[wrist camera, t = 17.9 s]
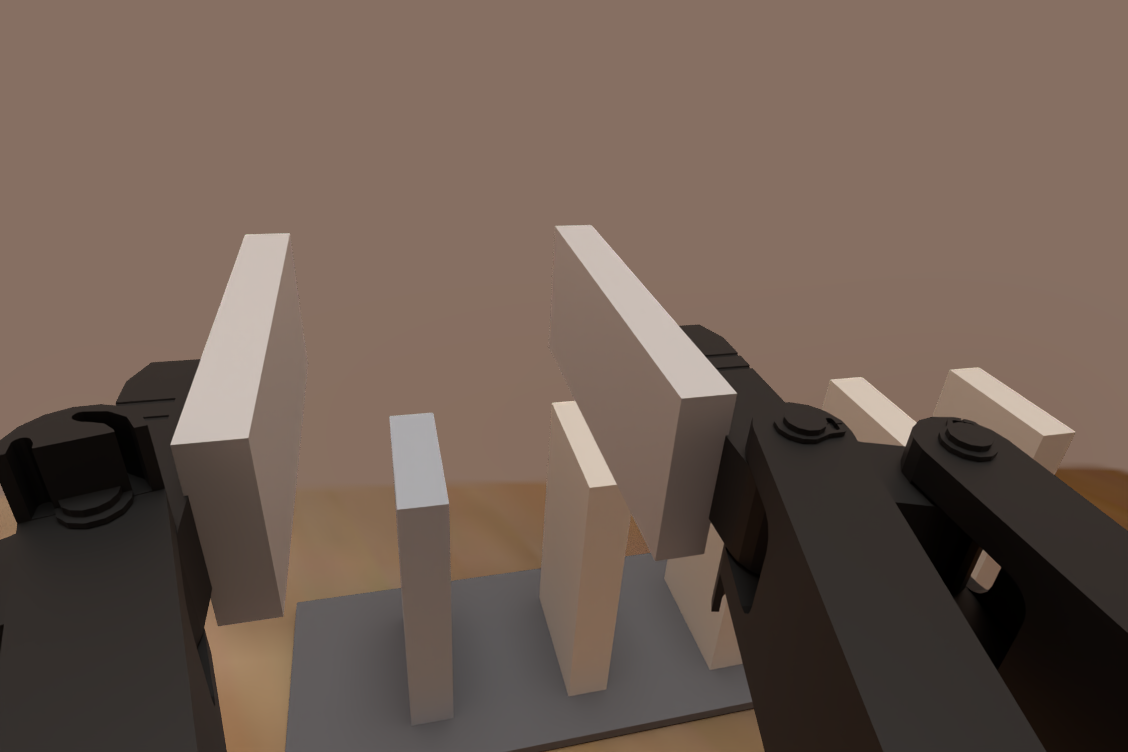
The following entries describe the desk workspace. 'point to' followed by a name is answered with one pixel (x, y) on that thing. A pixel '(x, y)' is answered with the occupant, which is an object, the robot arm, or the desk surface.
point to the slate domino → (424, 565)
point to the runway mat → (498, 671)
